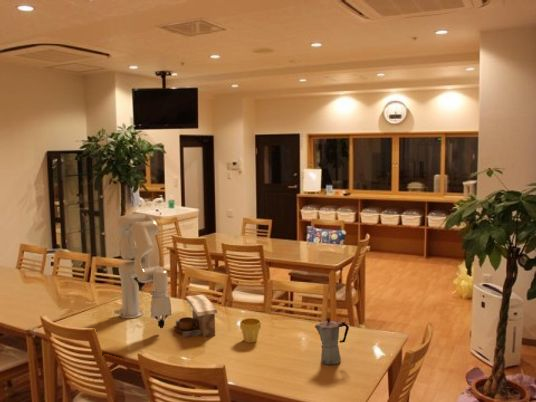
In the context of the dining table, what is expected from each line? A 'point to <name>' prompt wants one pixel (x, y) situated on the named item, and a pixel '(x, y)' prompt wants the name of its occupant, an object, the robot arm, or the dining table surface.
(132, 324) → the dining table surface
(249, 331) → the plant pot
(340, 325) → the moka pot
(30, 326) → the dining table surface
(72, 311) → the dining table surface
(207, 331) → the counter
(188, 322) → the cup and saucer
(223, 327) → the dining table surface
